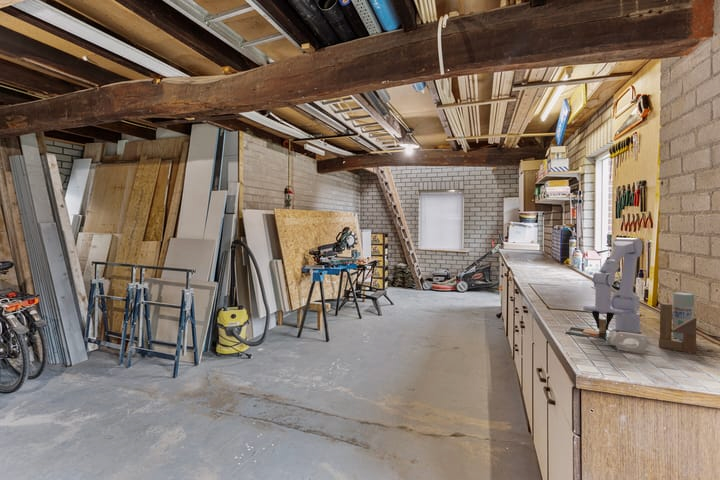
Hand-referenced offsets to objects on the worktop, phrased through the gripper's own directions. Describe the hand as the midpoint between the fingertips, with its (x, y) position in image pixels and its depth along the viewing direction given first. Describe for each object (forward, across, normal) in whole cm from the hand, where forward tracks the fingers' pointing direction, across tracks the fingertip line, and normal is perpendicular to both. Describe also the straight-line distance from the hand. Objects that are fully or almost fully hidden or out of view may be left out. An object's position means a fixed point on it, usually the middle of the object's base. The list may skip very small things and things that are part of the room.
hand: (602, 328), depth 152 cm
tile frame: (+3, -9, 0) cm, 9 cm away
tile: (+4, -4, 0) cm, 6 cm away
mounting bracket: (+4, +8, -14) cm, 17 cm away
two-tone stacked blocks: (+3, 0, 0) cm, 4 cm away
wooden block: (+4, +24, -1) cm, 25 cm away
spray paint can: (+4, +28, +17) cm, 32 cm away
